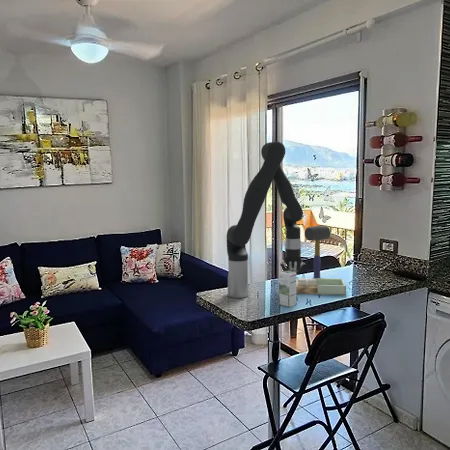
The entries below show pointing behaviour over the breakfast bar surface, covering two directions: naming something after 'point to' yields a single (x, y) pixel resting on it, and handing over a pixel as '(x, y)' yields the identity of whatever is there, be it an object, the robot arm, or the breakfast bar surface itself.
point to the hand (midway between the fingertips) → (292, 281)
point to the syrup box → (287, 288)
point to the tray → (331, 286)
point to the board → (306, 288)
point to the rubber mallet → (317, 244)
